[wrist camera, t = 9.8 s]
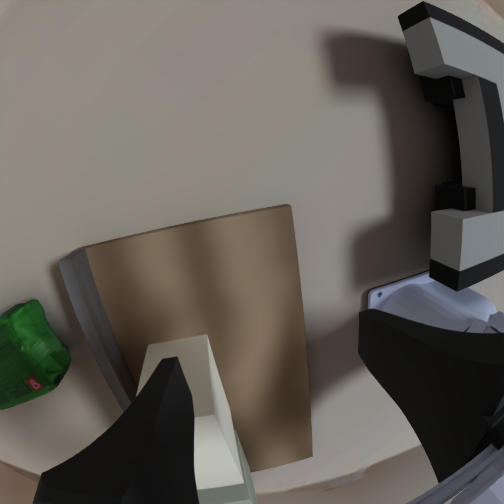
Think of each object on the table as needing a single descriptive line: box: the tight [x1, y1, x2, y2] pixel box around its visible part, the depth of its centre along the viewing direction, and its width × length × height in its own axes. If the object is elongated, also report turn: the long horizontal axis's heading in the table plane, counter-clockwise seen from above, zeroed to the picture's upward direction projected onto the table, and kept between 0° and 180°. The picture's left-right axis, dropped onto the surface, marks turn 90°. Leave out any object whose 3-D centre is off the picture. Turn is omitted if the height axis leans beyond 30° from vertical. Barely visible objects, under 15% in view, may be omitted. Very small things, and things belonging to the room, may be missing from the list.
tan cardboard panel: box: [58, 204, 313, 472], centre depth 21 cm, size 15×28×4 cm, turn 9°
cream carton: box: [136, 334, 244, 490], centre depth 17 cm, size 5×8×8 cm, turn 10°
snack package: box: [0, 300, 71, 410], centre depth 16 cm, size 7×16×5 cm, turn 115°
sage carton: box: [197, 430, 258, 504], centre depth 20 cm, size 5×8×8 cm, turn 9°
